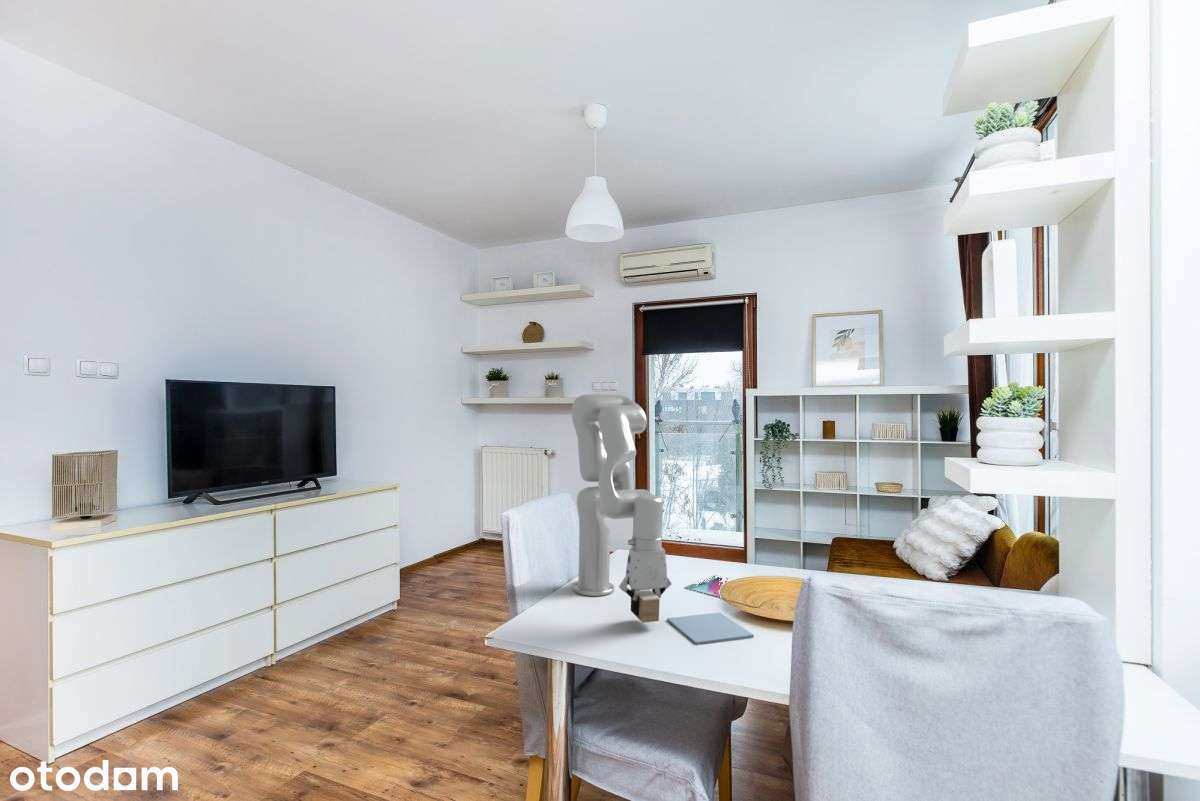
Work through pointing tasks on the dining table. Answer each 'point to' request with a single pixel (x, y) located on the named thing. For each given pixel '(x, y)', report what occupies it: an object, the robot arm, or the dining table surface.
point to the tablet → (708, 586)
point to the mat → (709, 628)
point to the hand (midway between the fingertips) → (644, 612)
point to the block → (648, 606)
